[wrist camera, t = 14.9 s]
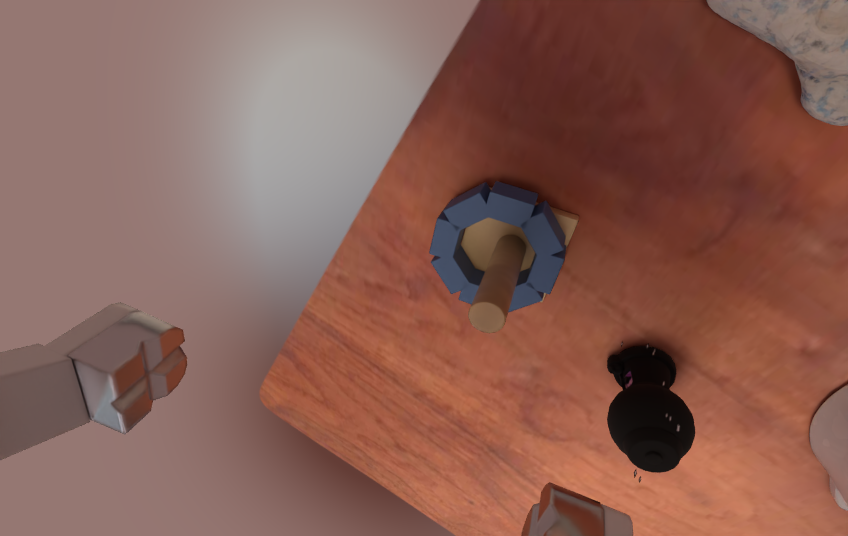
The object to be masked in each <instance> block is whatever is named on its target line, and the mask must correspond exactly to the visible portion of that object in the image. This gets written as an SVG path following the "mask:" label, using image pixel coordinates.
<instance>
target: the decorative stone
mask: <svg viewBox="0 0 848 536" xmlns="http://www.w3.org/2000/svg"><path fill="white" fill-rule="evenodd" d="M707 3H708V6H709V7H710V8H711V9H712V10H713V11H714V12H715V13H718V14H719V15H720V16H721V17H723V18H724V19H726V20H728V21H730V22H731V23H733V24H735V25H737V26H739V27H740V28H742V29H744V30H746V31H748V32H750V33H752V34H754V35H755V36H756V37H758V38H759V39H761V40H763V41H765V42H767V43H769V44H771V45H772V46H774V47H776V48H777V49H778V50H780V51H782V52H783V53H785V54H786V55H787V56H788V57H789V58H790V59H792V60H793V61H794V62H795V66H796V69H797V73H798V76H799V79H800V82H801V89H802V94H801V103H802V106H803V107H804V109H805V110H806V111H807V112H808V113H809V114H810V115H811V116H813V117H814V118H815V119H818V120H821V121H823V122H826V123H829V124H832V125H839V126H846V125H848V0H707Z"/></svg>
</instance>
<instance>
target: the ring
mask: <svg viewBox="0 0 848 536" xmlns="http://www.w3.org/2000/svg"><path fill="white" fill-rule="evenodd" d="M537 197H538V193H534V192H531V191H528V190H524V189H521V188H518V187H515V186H511V185H508V184H505V183H501V182H498V181H496V182H495V184H494V186H493V187H492V189H490V188H489V186H488V184H487V183H486V182H485V183H483V184H481V185H479V186H477V187H475V188H473V189H471V190H469V191H467V192H465V193H463V194H461V195H459V196H458V197H456V198H454V199H452V200H451V201H450V202H449V204H448V205H447V206H446V207H445V209H444V210H443V211H442V213H441V214H440V215H439V217H438V218H437V221H436V226H435V230H434V235H433V239H432V243H431V248H430V252H429V253H430V254H432V255H435V256H434V258H433V260H432V261H431V263H432V265H433V266H434V268H435V270H436V271H437V273H438V274H439V276H440V277H441V279H442V280H443V282H444V283H445V285H446V286H447V288H448V290H449V291H450V293H451V294H453V293H456V292H458V291H461V293H460V297H459V300H461V301H464V302H466V303H469V304H472V302H473V300H474V297H475V295H476V292H477V290H478V288H479V285H480V283H481V280H482V278H483V276H484V273H485V272H484V271H481V270H478V269H475V267H474V266H473V264H472V262H471V261H470V259H469V258H468V256H467V254H466V253H465V251H464V249H463V248H462V246H461V245H460V244H461V241H462V237H463V233H464V230H465V228H467V227H469V226H471V225H473V224H475V223H477V222H479V221H482V220H484V219H486V218H488V217H489V218H492V219H495V220H498V221H501V222H504V223H508V224H511V225H514V226H517V227H520V228H521V229H522V230H523V232H524V234H525V236H526V237H527V239H528V241H529V243H530V244H531V246H532V248H533V250H534V251H535V256H534V259H533V261H532V264H531V267H530V268H528V269H526V270H523V271H521V272H520V273H519V277H518V280H517V284H516V287H515V291H514V294H513V297H512V301H511V304H510V308H509V311H508V312H511V311H514V310H516V309H519V308H522V307H525V306H528V305H531V304H534V303H537V302H540V301H542V300H543V296H544V293H546V294H550V293H551V291H552V288H553V286H554V283H555V281H556V279H557V276H558V274H559V272H560V269H561V267H562V265H563V262H564V260H565V253H566V245H565V238H566V236H565V234H564V232H563V230H562V228H561V226H560V225H559V223H558V221H557V219H556V217H555V215H554V213H553V212H552V210H551V208H550V206H549V204H548V202H547V201H544V202H542V203H539V204H537V205H535V204H536V200H537Z"/></svg>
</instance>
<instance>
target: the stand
mask: <svg viewBox="0 0 848 536" xmlns="http://www.w3.org/2000/svg"><path fill="white" fill-rule="evenodd" d="M480 185H481V184H480ZM489 188H490V189H492V188H491V187H489ZM537 204H539V203H538V202H536V204H535V205H537ZM550 208H551V210H552V212H553V213H554V215H555V217H556V219H557V221H558V223H559V225H560V226H561V228H562V230H563V232H564V234H565V236H566V238H565V245H566V248H567V246H568V243H569V241H570V239H571V237H572V234H573V232H574V230H575V228H576V225H577V223H578V219H579V216H578V215H575V214H571V213H568V212H565V211H562V210H559V209H556V208H553V207H550ZM461 246H462V248H463V249H464V251H465V253H466V254H467V256H468V258H469V259H470V261H471V262H472V264H473V266H474V267H475V269H478V270H481V271H484V272H485V273H484V276H483V278H482V280H481V283H480V285H479V288H478V290H477V292H476V295H475V297H474V300H473V302H472V304H471V307H470V309H469V312H468V317H469V320H470V322H471V324H472V325H473V326H474V327H475V328H476V329H478V330H480V331H482V332H486V333H493V332H497V331H499V330H500V329H502V328H503V326H504V324H505V322H506V318H507V315H508V311H509V308H510V304H511V301H512V297H513V294H514V291H515V287H516V284H517V280H518V277H519V273H520V272H521V271H523V270H526V269H528V268H530V267H531V264H532V261H533V259H534V256H535V251H534V250H533V248H532V246H531V244H530V243H529V241H528V239H527V237H526V236H525V234H524V232H523V230H522V229H521V228H520V227H517V226H514V225H511V224H508V223H504V222H501V221H498V220H495V219H492V218H489V217H488V218H486V219H484V220H482V221H479V222H477V223H475V224H473V225H471V226H469V227H467V228H466V229H465V233H464V236H463V239H462V243H461ZM545 295H546V293H544V296H543V300H544V298H545ZM543 300H542V301H540V302H543Z"/></svg>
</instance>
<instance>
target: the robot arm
mask: <svg viewBox="0 0 848 536" xmlns="http://www.w3.org/2000/svg"><path fill="white" fill-rule="evenodd" d="M184 341H185V339H184V334H183V330H182V329H180V328H178V327H175V326H173V325H171V324H169V323H166V322H164V321H162V320H160V319H157V318H155V317H153V316H150V315H148V314H146V313H144V312H142V311H139V310H137V309H135V308H133V307H130V306H128V305H126V304H123V303H115V304H111V305H109V306H108V307H106V308H104V309H103V310H101V311H100V312H98V313H96V314H95V315H93V316H92V317H90V318H88V319H87V320H85V321H84V322H82V323H81V324H79V325H77V326H76V327H74V328H72V329H71V330H69V331H68V332H66V333H64V334H63V335H61V336H60V337H58V338H57V339H55V340H53V341H52V342H50V343H49V344H47V345H46V346H43V345H40V344H35V345H31V346H26V347H22V348H18V349H13V350H9V351H5V352H0V460H2V459H4V458H7V457H9V456H11V455H14V454H16V453H18V452H20V451H23V450H25V449H28V448H30V447H32V446H35V445H37V444H39V443H42V442H44V441H47V440H49V439H51V438H53V437H56V436H58V435H61V434H63V433H65V432H68V431H70V430H72V429H75V428H77V427H79V426H82V425H84V424H86V423H89V422H90V420H93V421H95V422H97V423H100V424H102V425H104V426H106V427H109V428H111V429H113V430H116V431H118V432H120V433H123V434H126V433H127V432H129V431H130V430H131V429H132V428H133V427H134V426H135V425H136V424H137V423H138V422H139V421H140V420H141V419H143V418H144V417H145V416H146V415H147V414H148V413H149V412H150V411H151V408H152V403H153V400H156V399H159V398H162V397H165V396H167V395H169V394H170V393H171V392H172V391H173V390H174V389H175V388H176V387H177V386H178V384H179V382H180V381H181V379H182V378H183V376H184V374H185V371H186V367H187V357H186V355H185V353H184V352H183V350H182V349H181V347H180V345H181V344H182V343H183V342H184ZM809 438H810V444H811V448H812V450H813V452H814V454H815V456H816V458H817V459H818V460H819V462H820V463H821V464H822V465H823V467H824V468H825V470H826V471H827V472H828V474H829V476H830V480H829V481H830V492H831V494H832V496H833V498H834V500H835V501H836V503H837V504H838V506H839V507H841V508H842V509H844V510H847V511H848V385H846V386H844V387H843V388H841V389H840V390H838V391H837V392H835V393H834V394H833V395H832V396H830V397H829V398H828V399H827V400H826V401H825V402H824V403H823V404H822V405H821V407H820V408H819V409H818V411H817V412H816V414H815V416H814V418H813V420H812V423H811V426H810V432H809ZM521 536H633V525H632V521H631V518H630V516H629V515H627V514H625V513H622V512H620V511H617V510H615V509H613V508H610V507H608V506H605V505H603V504H600V502H597V501H595V500H592V499H590V498H587V497H585V496H583V495H580V494H578V493H575V492H573V491H570V490H568V489H565V488H563V487H560V486H558V485H555V484H553V483H550V482H549V483H548V484H546V485H545V487H544V489H543V490H542V492H541V498H540V503H538V504H534V505H533V506H532V508H531V510H530V512H529V513H528V515H527V518H526V521H525V524H524V526H523V530H522V535H521Z"/></svg>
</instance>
